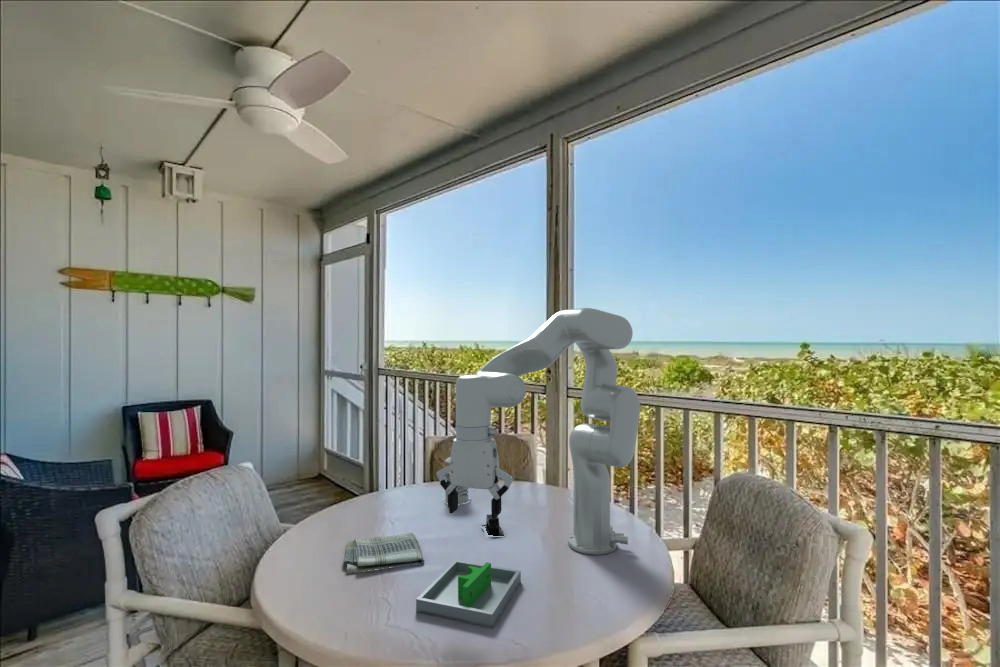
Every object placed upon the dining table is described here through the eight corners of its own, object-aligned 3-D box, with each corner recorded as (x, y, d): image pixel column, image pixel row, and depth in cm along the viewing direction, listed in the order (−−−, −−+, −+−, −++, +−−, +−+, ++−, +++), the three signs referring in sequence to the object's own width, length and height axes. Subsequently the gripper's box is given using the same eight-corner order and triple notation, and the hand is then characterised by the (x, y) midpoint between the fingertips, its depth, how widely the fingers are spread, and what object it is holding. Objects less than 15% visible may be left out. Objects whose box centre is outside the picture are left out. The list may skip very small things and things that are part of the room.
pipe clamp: (475, 581, 103) (475, 559, 103) (491, 584, 101) (491, 562, 101) (450, 606, 92) (450, 582, 93) (467, 610, 91) (467, 586, 91)
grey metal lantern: (476, 499, 160) (477, 426, 161) (456, 509, 150) (456, 431, 151) (454, 494, 165) (454, 423, 166) (432, 503, 155) (433, 428, 156)
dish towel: (415, 538, 128) (415, 526, 129) (424, 566, 111) (425, 553, 111) (344, 546, 123) (344, 534, 123) (343, 578, 106) (343, 564, 106)
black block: (509, 540, 127) (509, 523, 127) (483, 542, 125) (483, 525, 125) (500, 523, 139) (500, 508, 139) (476, 525, 137) (476, 509, 137)
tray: (520, 582, 103) (520, 570, 103) (492, 628, 86) (492, 614, 86) (455, 570, 108) (455, 559, 108) (416, 612, 91) (416, 599, 91)
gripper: (517, 432, 100) (518, 512, 100) (444, 428, 106) (445, 504, 105) (506, 438, 93) (507, 525, 92) (429, 434, 99) (429, 515, 98)
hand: (474, 513), depth 99 cm, fingers open, 9 cm apart
